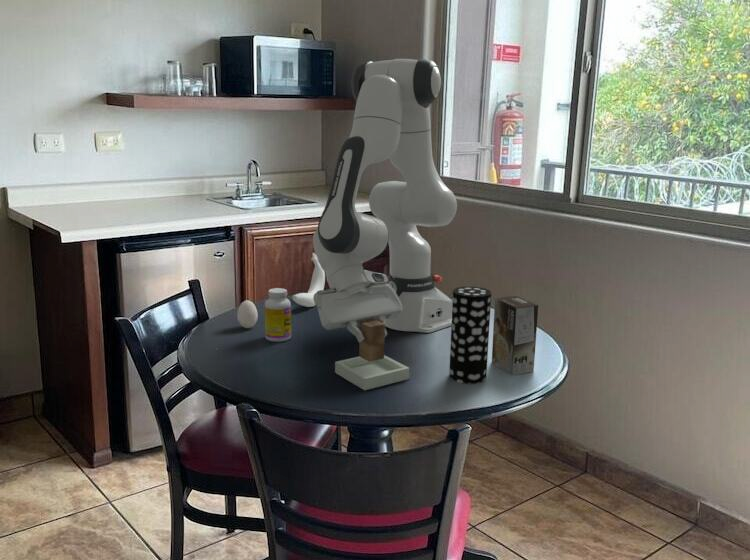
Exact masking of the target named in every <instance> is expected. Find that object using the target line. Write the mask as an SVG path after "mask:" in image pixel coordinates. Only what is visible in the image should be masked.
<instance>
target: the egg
mask: <svg viewBox="0 0 750 560" xmlns="http://www.w3.org/2000/svg"><path fill="white" fill-rule="evenodd" d="M258 315H259V314H258V310H257V308H256V305H255V304H254V303H253V302H252V301H250V300H247V299H245V300H244V301H242V302H241V303H240V305H239V306H238V309H237V315H236V317H237V322H238V324H239V325H240V326H241V327H242V328H245V329H251V328H253V327H254V326H255V325H256V323H257V322H258V317H259V316H258Z"/></svg>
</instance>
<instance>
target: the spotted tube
mask: <svg viewBox="0 0 750 560" xmlns="http://www.w3.org/2000/svg"><path fill="white" fill-rule="evenodd" d="M491 302H492V291H491V290H490V289H487V288H485V287H481V286H480V287H478V286H458V287H455V288H454V289H452V325H451V326H450V328H451V331H450V348H449V349H450V353H449V368H448V374H449V375H448V377H449V378H450V379H451V380H452V381H454V382H456V383H461V384H467V385H470V384H471V385H472V384H473V385H474V384H480V383H483V382H485V381H486V379H487V372H488V371H487V370H488V369H487V368H488V358H489V357H488V354H489V339H490V320H491V319H490V318H491V307H492V306H491V304H492V303H491Z"/></svg>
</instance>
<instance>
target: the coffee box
mask: <svg viewBox="0 0 750 560" xmlns="http://www.w3.org/2000/svg"><path fill="white" fill-rule="evenodd" d="M493 308H494V310H493V311H494V313H493V329H492V331H493V332H492V345H491V346H492V350H491V363H492V364H493V365H495V366H497V367H498V368H500V369H502V370H503V371H505V372H507V373H509V374H510V375H512V376H516V375H520V374H527V373H532V372H534V371H535V359H536V357H535V356H536V344H537V343H536V341H537V328H538V314H539V304H536V303H534V302H531V301H529V300H527V299H524V298H522V297H520V296H517V295H510V296H501V297H496V298H494V307H493Z"/></svg>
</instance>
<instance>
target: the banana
mask: <svg viewBox="0 0 750 560" xmlns="http://www.w3.org/2000/svg"><path fill="white" fill-rule="evenodd" d="M310 260H311V261H312V262H313V263H314V268H313V272H312V276H311V281H310V285H309V289H308V290H307V292H299V293H296V294H293V295H292V297H291V299H292V300H293V302H295V303H296V304H297V305H299V306H301V307H302V306H303V307H307V308H311V307H315V306H316V305H315V302H314V300H313V297H314V294H315V293H317V291H320V290H325V289H324V288H325V285H326V284H325V282H326V273H325V272H324V270H323V269H322V268H321V266H320V263H319V261H318V258H317V256H316V253H315V252H312V257H311V259H310Z"/></svg>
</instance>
